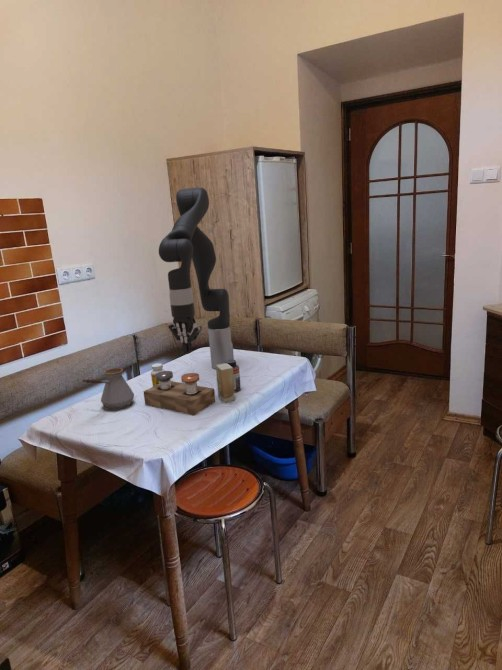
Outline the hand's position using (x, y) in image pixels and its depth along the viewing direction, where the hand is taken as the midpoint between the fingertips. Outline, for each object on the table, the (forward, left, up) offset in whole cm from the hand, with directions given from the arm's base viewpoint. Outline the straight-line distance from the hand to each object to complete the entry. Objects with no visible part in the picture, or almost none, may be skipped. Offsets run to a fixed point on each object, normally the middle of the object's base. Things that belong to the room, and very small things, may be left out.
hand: (187, 352), depth 158 cm
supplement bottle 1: (-8, -23, -19) cm, 31 cm away
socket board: (0, -6, -19) cm, 20 cm away
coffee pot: (+15, -25, -19) cm, 35 cm away
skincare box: (-10, +7, -19) cm, 23 cm away
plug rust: (0, 0, -18) cm, 18 cm away
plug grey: (0, -12, -18) cm, 22 cm away
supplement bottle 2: (-18, +4, -19) cm, 27 cm away
